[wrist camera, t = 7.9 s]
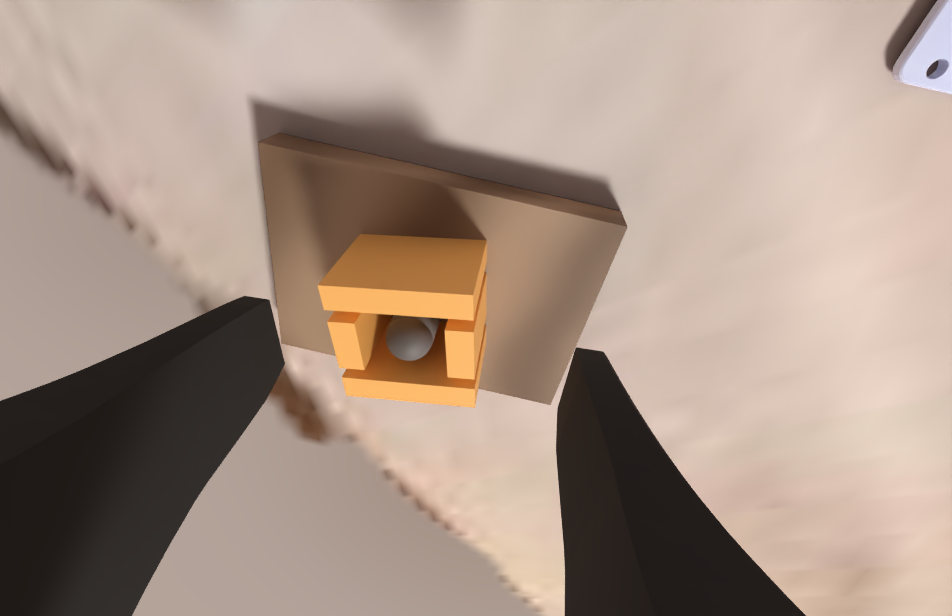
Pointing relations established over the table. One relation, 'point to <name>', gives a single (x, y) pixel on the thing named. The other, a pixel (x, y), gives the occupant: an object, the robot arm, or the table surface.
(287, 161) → the keeper base
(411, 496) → the table surface
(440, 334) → the orange hollow frame block
